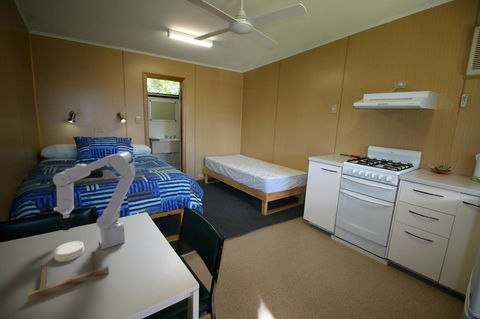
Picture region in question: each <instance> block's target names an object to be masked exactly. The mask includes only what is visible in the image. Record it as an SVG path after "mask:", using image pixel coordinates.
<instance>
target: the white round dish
mask: <svg viewBox="0 0 480 319" xmlns="http://www.w3.org/2000/svg"><path fill="white" fill-rule="evenodd" d="M84 253H85V244H84V242H82V241H78V240H75V241H73V240H72V241H69V242H65V243H62V244H61V245H59V246H57V248H55V249H54V251H53V255H54V260H55V261H57V262H61V263H62V262H68V261H72V260H74V259H77V258H79V257H80V256H82V255H83V254H84Z"/></svg>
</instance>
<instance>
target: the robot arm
mask: <svg viewBox="0 0 480 319" xmlns="http://www.w3.org/2000/svg"><path fill="white" fill-rule="evenodd" d="M102 167H108V168H111V167H112V168H113V169H114V170H115V171H116V172H117V173H118V174H119V175H120V178H119V181H118V183H117V185H116V186H115V189H114V191H113V194H112V195H111V198H110V200H109V202H108V205H107V206H106V208H105V209H104V210H103V212H102V214H101V216H99V217H97V219H96V226H97V227H98V228H99V231H100V232H99V233H100V239H99V241H98V242H99V244H100V248H101V249H102V250H105V249H108V248H111V247H114V246H117V245H122V244H125V243H126V240H125V239H126V238H125V237H126V236H125V225H124V222H123V221H118V220H119V218H120V216H121V209H122V204H123V202H124V200H125V199H126V198H125V197H126V195H127V193H128V191H129V189H130V187H131V185H132V183H133V181H134V179H135V176H136V166H135V158H134V156H133V155H132V154H131V152H129V151H121V152H119V153H114V154H110V155H107V156H105V157H104V156H103V157H102V158H100V159H98V160H95V161H92V162H91V163H89V164H86V163H77V164H75V165H74V166H73V167H70V168H66V169H64V170H63V171H61V172H57V173H55V175H54V176H52V182H53V184H54V185H55V186H56V207H54V208H53V211H54V212H56V211H57V212H58V213H59V215H57V220H58V221H59V223H60V224H61V228H62V231H64V232H65V231H69V230H70V229H71V224H72V221H73V219H74V218H75V214H71V213H72V211H73V210H74V209H75V204H74V202H75V200H74V199H75V198H74V195H75V194H74V185H75V184H74V183H75V182H76V181H79V180H81V179H84V178H86V177H88V176H90V174H91V172H92V171H95V170H97V169H100V168H102Z"/></svg>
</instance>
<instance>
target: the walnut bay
mask: <svg viewBox="0 0 480 319" xmlns="http://www.w3.org/2000/svg"><path fill="white" fill-rule="evenodd" d="M91 260H92V264H93V269H94V270H92V271H89V272H86V273H82V274H80V275H78V276H75V277H71V278H68V279H65V280H62V281H60V282H57V283H54V284H52V285H51V284H50V285H48V286H47V283H48V282H47V278H48V266H47V265H45V266H42V267H41V276H40V285H39V289H37V290H34V291H30V292H28V293H27V296H26V297H27V302H29V303H31V302H34V301H36V300H40V299H42V298H45V297H47V296H51V295H53V294H56V293H58V292H62V291H63V290H67V289H70V288H72V287H75V286H78V285H81V284H83V283H86V282H89V281H93V280H95V279H98V278H100V277H103V276H105V275H109V274H110V271H109V266H108V265H107V266H104V267H99V262H98V259H97V253H96V251H91ZM33 300H34V301H33Z"/></svg>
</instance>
